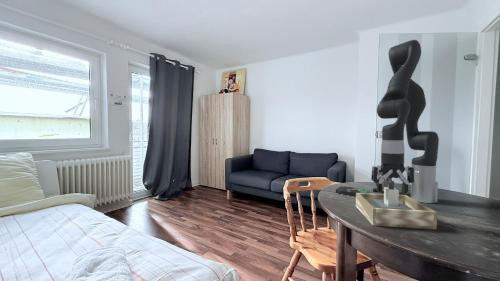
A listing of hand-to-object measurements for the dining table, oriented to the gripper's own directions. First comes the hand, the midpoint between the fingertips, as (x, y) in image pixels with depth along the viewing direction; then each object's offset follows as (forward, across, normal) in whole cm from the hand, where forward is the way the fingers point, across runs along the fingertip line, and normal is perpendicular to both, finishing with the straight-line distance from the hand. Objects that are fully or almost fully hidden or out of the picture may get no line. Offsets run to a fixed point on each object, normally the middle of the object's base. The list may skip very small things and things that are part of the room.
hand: (391, 192), depth 85 cm
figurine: (+10, -10, -34) cm, 37 cm away
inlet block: (+8, 0, 0) cm, 8 cm away
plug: (+8, 0, 0) cm, 8 cm away
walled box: (+9, 0, 0) cm, 9 cm away
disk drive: (+10, +6, -30) cm, 33 cm away
